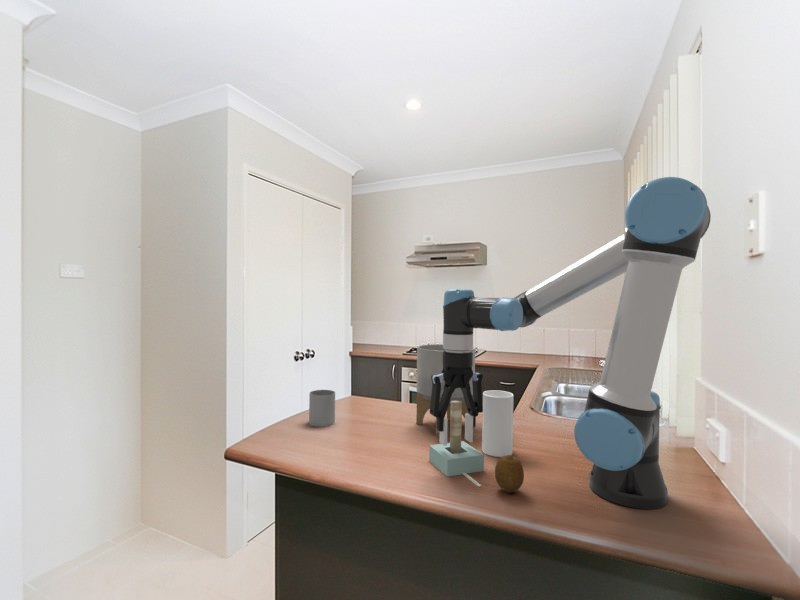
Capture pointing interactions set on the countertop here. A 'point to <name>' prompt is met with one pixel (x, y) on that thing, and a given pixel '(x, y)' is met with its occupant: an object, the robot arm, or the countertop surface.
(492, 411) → the cup
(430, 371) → the planter
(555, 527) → the countertop surface
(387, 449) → the countertop surface
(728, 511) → the countertop surface
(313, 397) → the cup
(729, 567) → the countertop surface
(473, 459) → the bead
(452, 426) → the beige wooden dowel
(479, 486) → the cream stick
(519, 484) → the fruit
